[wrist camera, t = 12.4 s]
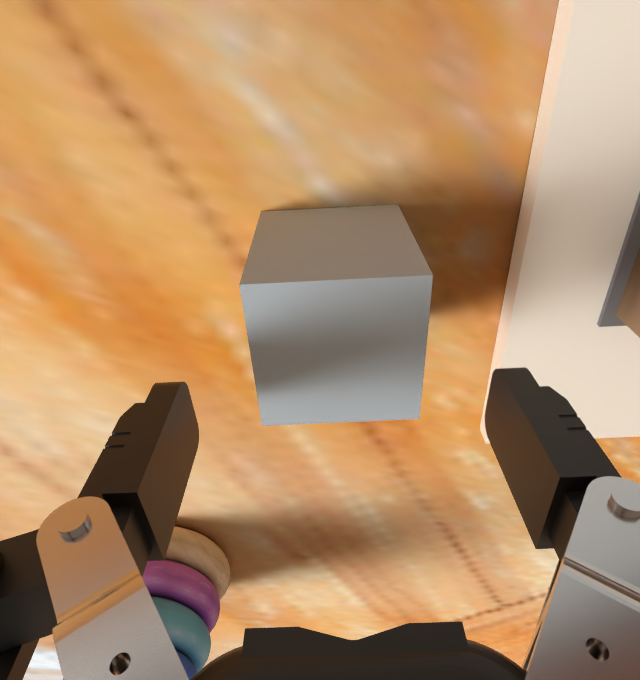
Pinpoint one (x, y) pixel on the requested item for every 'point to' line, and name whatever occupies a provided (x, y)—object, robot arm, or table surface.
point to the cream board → (581, 223)
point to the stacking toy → (189, 593)
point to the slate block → (336, 315)
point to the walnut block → (631, 299)
